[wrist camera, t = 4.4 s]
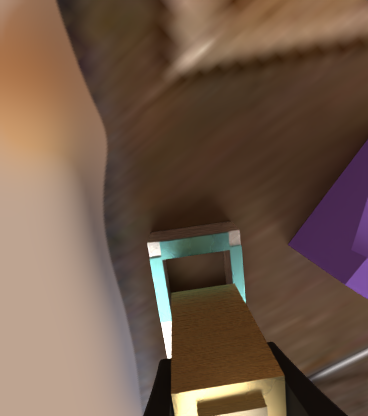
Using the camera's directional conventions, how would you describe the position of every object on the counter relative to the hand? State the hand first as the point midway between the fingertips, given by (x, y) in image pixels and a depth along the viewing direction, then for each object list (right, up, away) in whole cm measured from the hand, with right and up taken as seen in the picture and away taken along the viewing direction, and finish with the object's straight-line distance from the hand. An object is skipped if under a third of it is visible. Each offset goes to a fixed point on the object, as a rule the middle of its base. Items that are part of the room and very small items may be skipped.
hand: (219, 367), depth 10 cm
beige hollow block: (0, 0, +4) cm, 4 cm away
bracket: (+14, +7, +10) cm, 18 cm away
